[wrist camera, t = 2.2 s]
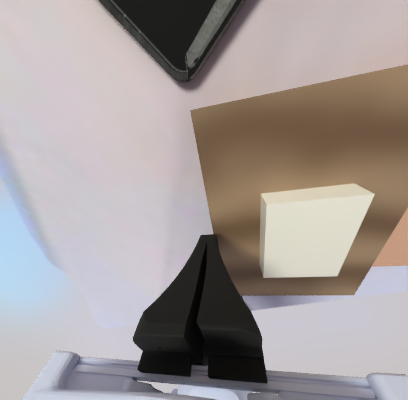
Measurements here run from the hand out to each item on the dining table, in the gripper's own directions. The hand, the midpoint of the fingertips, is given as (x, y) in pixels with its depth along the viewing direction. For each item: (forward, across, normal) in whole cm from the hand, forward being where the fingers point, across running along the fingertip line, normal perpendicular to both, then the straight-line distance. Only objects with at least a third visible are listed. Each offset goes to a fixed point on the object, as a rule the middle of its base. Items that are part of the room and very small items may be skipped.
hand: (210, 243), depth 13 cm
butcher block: (+3, -7, 0) cm, 8 cm away
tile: (+1, -7, 0) cm, 7 cm away
